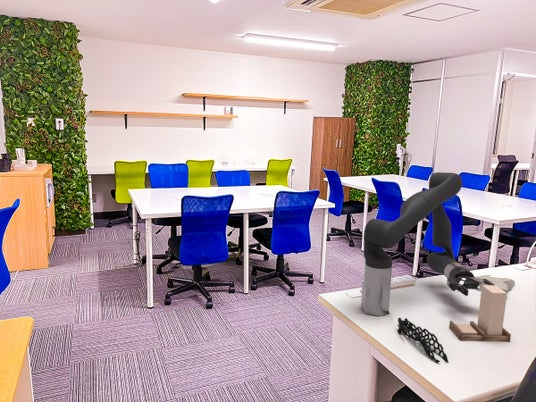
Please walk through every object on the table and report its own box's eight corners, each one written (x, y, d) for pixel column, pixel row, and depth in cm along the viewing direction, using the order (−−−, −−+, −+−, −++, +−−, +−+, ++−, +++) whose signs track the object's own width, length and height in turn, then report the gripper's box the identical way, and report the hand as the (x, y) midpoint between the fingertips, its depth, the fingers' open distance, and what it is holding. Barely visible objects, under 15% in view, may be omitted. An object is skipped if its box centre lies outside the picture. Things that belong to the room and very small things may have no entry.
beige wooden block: (486, 338, 123) (492, 293, 120) (476, 329, 129) (482, 285, 126) (501, 339, 123) (507, 293, 120) (490, 329, 129) (495, 285, 126)
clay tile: (462, 338, 123) (463, 332, 123) (454, 329, 129) (455, 323, 129) (477, 338, 123) (477, 332, 123) (468, 329, 129) (469, 324, 128)
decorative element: (451, 367, 111) (453, 347, 110) (435, 369, 110) (437, 349, 109) (405, 328, 132) (407, 311, 131) (391, 329, 131) (393, 312, 130)
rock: (465, 290, 164) (506, 298, 154) (465, 279, 164) (506, 286, 153) (482, 280, 179) (520, 287, 169) (482, 270, 179) (521, 276, 168)
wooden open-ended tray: (459, 344, 122) (461, 333, 121) (448, 331, 130) (449, 320, 129) (509, 345, 122) (510, 334, 121) (495, 331, 130) (496, 321, 129)
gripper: (440, 265, 147) (459, 282, 131) (479, 266, 146) (503, 283, 130) (438, 284, 148) (457, 303, 132) (477, 285, 148) (501, 304, 132)
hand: (480, 293), depth 131 cm, fingers open, 8 cm apart
